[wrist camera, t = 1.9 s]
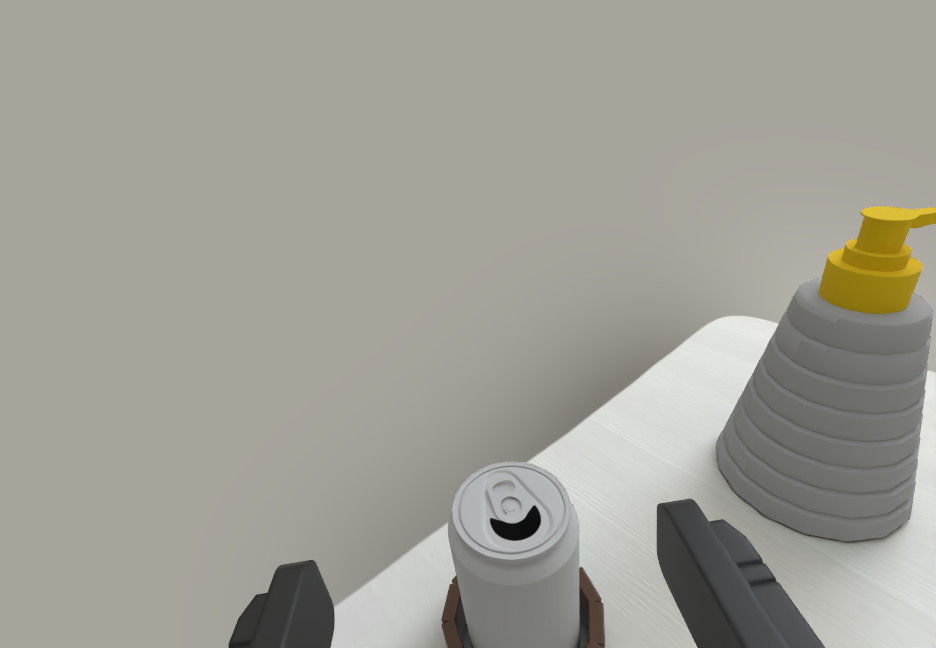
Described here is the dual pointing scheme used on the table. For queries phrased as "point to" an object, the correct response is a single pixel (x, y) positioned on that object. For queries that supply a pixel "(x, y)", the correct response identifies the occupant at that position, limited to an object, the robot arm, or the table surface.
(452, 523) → the beverage can
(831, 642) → the table surface
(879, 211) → the soap bottle
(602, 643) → the can holder
